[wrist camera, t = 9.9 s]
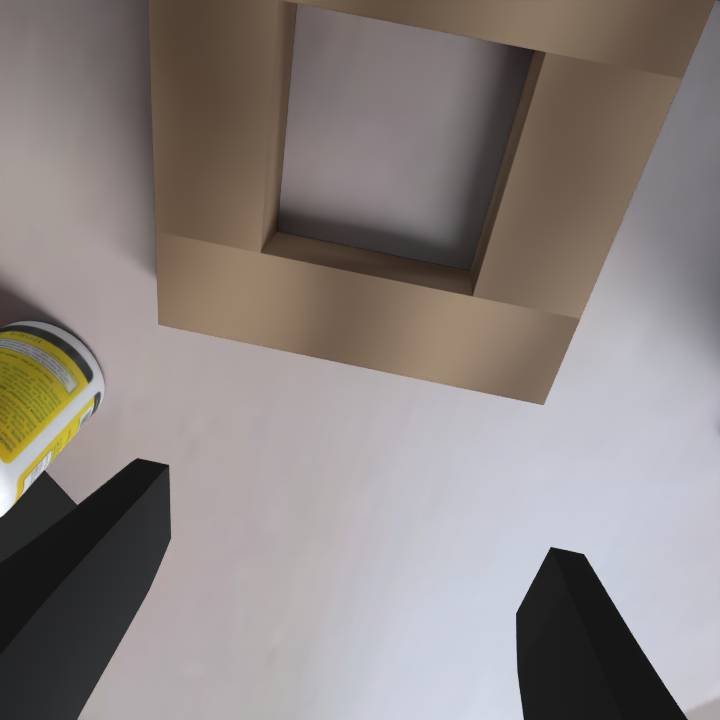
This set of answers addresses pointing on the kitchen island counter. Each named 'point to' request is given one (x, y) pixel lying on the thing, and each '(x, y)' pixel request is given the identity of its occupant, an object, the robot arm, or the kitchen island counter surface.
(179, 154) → the pocket block
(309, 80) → the kitchen island counter surface
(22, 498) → the cleaning product box
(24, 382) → the supplement bottle
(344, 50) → the kitchen island counter surface
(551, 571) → the robot arm
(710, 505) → the kitchen island counter surface
